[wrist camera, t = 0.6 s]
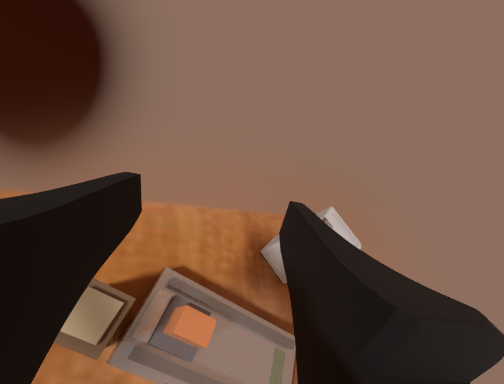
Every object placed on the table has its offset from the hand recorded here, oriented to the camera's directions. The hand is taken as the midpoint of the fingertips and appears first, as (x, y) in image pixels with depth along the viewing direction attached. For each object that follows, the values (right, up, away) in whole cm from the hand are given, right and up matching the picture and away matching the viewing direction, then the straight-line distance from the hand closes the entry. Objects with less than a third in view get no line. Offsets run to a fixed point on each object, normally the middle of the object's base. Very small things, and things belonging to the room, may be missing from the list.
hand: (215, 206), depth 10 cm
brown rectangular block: (-12, -10, +8) cm, 18 cm away
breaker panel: (-2, -16, +12) cm, 20 cm away
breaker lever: (-5, -12, +9) cm, 16 cm away
